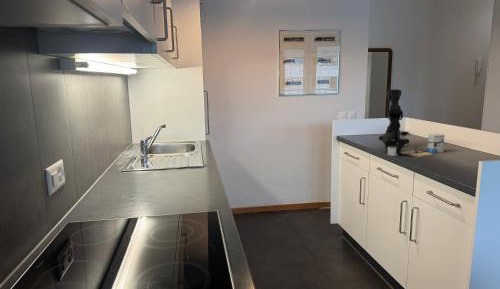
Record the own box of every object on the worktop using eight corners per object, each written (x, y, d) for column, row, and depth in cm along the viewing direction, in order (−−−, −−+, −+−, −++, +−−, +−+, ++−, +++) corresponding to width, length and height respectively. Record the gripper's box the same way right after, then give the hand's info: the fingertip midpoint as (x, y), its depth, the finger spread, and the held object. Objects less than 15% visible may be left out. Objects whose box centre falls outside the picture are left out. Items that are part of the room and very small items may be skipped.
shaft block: (400, 153, 228) (401, 143, 227) (413, 151, 233) (414, 141, 232) (419, 157, 216) (420, 147, 214) (432, 155, 221) (433, 144, 220)
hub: (385, 154, 226) (385, 146, 225) (392, 153, 229) (392, 145, 228) (393, 156, 221) (393, 148, 220) (400, 154, 223) (400, 147, 222)
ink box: (432, 153, 226) (433, 134, 224) (426, 151, 231) (427, 133, 228) (443, 152, 228) (445, 134, 226) (437, 150, 233) (439, 133, 231)
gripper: (373, 127, 226) (372, 151, 229) (397, 131, 210) (396, 157, 213) (385, 126, 231) (384, 150, 234) (410, 129, 215) (408, 155, 218)
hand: (392, 153), depth 224 cm, fingers open, 7 cm apart
